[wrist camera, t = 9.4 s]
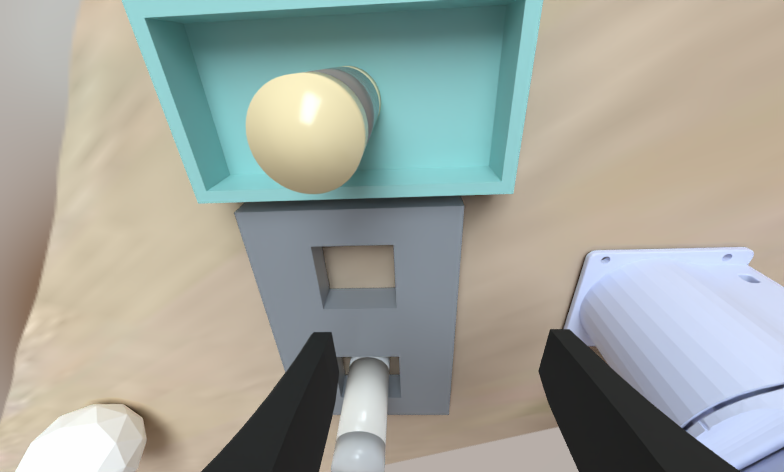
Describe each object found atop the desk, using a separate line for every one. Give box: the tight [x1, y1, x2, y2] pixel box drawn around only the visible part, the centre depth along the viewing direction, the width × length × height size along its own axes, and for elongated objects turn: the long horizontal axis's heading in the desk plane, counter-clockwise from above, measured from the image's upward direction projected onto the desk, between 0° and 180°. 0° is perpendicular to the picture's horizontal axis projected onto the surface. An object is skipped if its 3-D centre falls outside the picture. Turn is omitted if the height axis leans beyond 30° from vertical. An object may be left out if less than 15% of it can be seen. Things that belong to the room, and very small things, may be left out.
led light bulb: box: [246, 66, 381, 194], centre depth 12 cm, size 3×3×8 cm
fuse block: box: [234, 195, 464, 415], centre depth 22 cm, size 12×18×2 cm, turn 2°
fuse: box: [331, 357, 390, 472], centre depth 21 cm, size 3×3×8 cm
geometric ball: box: [15, 404, 147, 472], centre depth 26 cm, size 8×8×8 cm
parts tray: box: [122, 0, 543, 203], centre depth 14 cm, size 15×8×3 cm, turn 92°
